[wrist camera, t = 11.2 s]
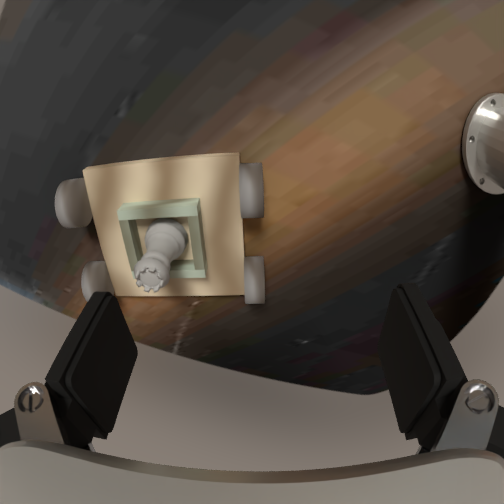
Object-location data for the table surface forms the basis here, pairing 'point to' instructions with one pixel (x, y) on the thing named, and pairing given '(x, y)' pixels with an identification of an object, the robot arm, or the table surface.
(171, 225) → the rook chess piece
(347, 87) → the table surface
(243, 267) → the car chassis
